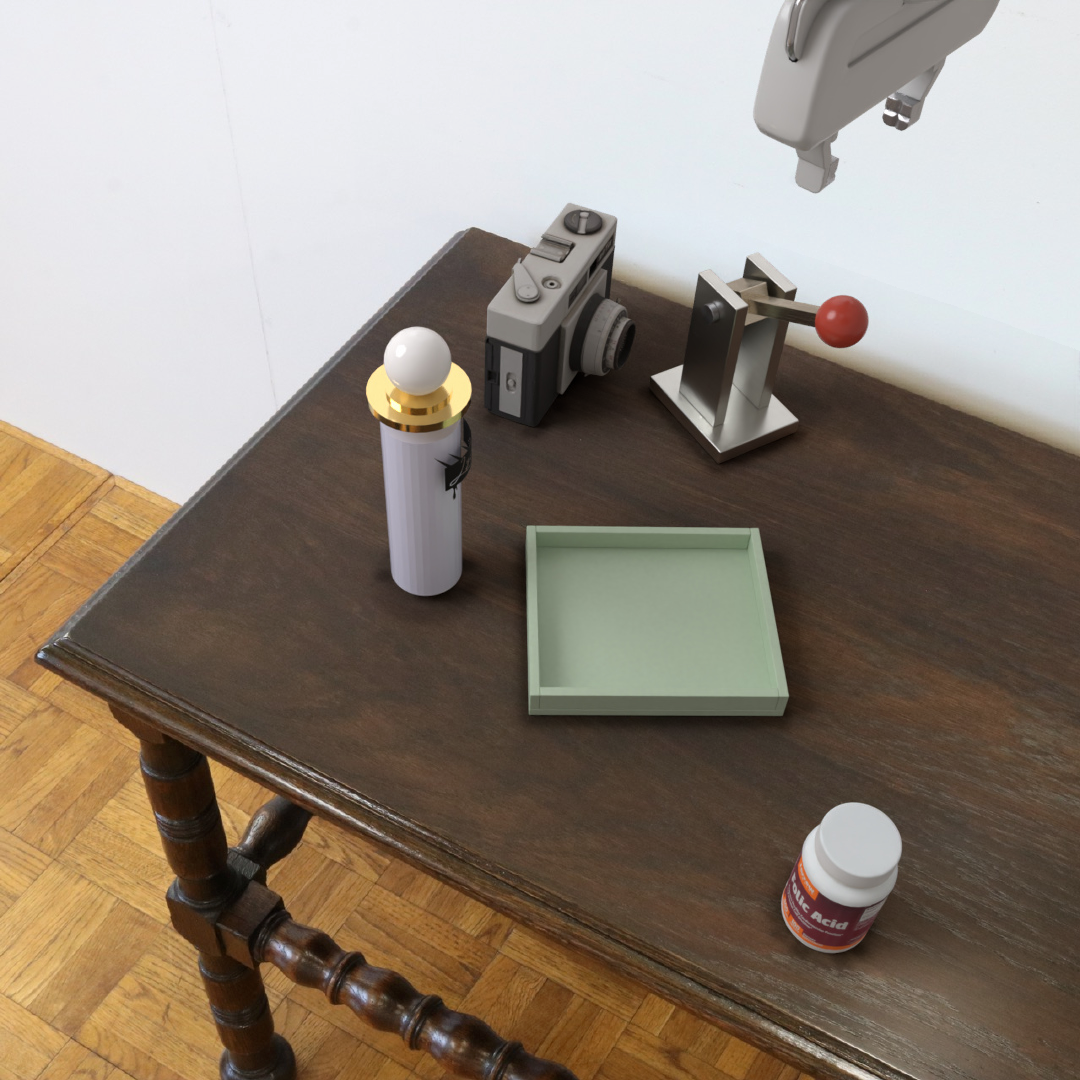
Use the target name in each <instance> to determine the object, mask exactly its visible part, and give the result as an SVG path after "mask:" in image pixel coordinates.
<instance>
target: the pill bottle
mask: <svg viewBox="0 0 1080 1080" xmlns="http://www.w3.org/2000/svg"><path fill="white" fill-rule="evenodd" d="M902 852H903V843H902V837H901V834H900V831H899V830H898V827H897V826H896V825H895V823H894V821H893V820H892V819H891V818H890V817H889V816H888V815H887V814H886V813H884V812H883V811H882V810H880V809H878V808H876V807H874V806H872V805H870V804H867V803H862V802H854V801H853V802H852V801H851V802H845V803H841V804H839V805H836V806H834V807H832V808H831V809H830V810H829V811H828V812H827V813H826V814H825V815H824V817H823V818H822V820H821V822H820V823H819V824H818V825H817V826H816V827H814V828H813V829H812V830H811V831H810V832H809V834H808V835H807V836H806V838H805V840H804V842H803V844H802V847H801V850H800V852H799V854H798V856H797V859H796V861H795V864H794V865H793V869H792V870H791V872H790V876H789V878H788V879H787V882H786V884H785V886H784V889H783V891H782V895H781V903H780V906H781V915H782V917H783V920H784V922H785V925H786V927H787V928H788V930H789V931H790V933H791V934H792V935H793V936H794V937H795V938H796V940H798V941H799V942H800V943H802V944H803V945H804V946H806V947H807V948H810V949H811V950H814V951H817V952H821V953H826V954H836V953H838V954H839V953H843V952H847V951H848V950H851V949H853V948H855V947H857V946H858V944H860V943H861V942H862V941H863V939H864V938H865V937H866V935H867V933H868V931H869V930H870V928H871V927H872V926H873V923H874V921H875V920H876V918H877V916H878V915H879V912H880V910H881V909H882V907H883V906H884V904H885V903H886V901H887V899H888V897H889V895H890V893H891V892H892V891H893V890H894V888H895V885H896V883H897V879H898V873H899V868H898V867H899V865H898V864H899V863H900V860H901V857H902Z"/></svg>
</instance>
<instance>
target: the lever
mask: <svg viewBox="0 0 1080 1080" xmlns="http://www.w3.org/2000/svg"><path fill="white" fill-rule="evenodd" d="M725 283H726V284H727V285H728V286H729V287H730V288H731V289H732V290H733V291H734V292H735V293H736V294H737V295H738V296H739V297H740V298H741V299H742V300H743V301H745V302H746V303H747V304H748V306H749V307H748V311H747V316H746V321H745V326H746V325H749V324H752V323H755V322H757V321H760V320H763V319H766V318H768V317H769V318H773V319H778V320H782V321H787V322H789V323H793V324H797V325H802V326H806V327H811V328H815V332H816V334H817V337H819V339H820V340H821V341H822V342H823V344H825V345H827V346H829V347H831V348H835V349H847V348H850V347H853V346H855V345H856V344H858V343H859V342H860V341H861V340H862V339H863V338H864V337H865V335H866V333H867V331H868V328H869V323H870V322H869V321H870V320H869V313H868V310H867V308H866V306H865V305H864V304H863V303H862V302H861V301H860V300H859V299H858V298H856V297H854V296H852V295H846V294H839V295H835V296H831V297H830V298H828V299H826V300H825V301H823V302H822V304H821V305H816V304H812V303H811V304H810V303H806V302H800V301H797V300H796V301H795V300H794V301H790V300H785V299H780V298H775V297H770V296H768V290H767V283H766V282H762V281H756V280H750V279H745V278H742V277H740V278H737V279H734V280H731V281H729V282H725Z"/></svg>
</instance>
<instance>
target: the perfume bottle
mask: <svg viewBox="0 0 1080 1080" xmlns="http://www.w3.org/2000/svg"><path fill="white" fill-rule="evenodd" d="M365 388H366V389H365V393H366V403H367V406H368V410H369V411H370V412H371V414H372V416H374V418H375V419H376V420H377V421H378V422H379V429H380V430H379V431H380V444H381V445H380V446H381V454H382V455H381V458H382V469H383V470H382V471H383V481H384V482H383V485H384V496H385V497H384V498H385V508H386V509H385V511H386V522H387V534H388V549H389V562H390V571H391V572H390V574H391V576H392V579H393V580H394V583H395V584H396V585H397V586H398V587H399V588H400V589H402V590H403V591H405V592H407V593H409V594H411V595H415V596H421V597H429V596H430V597H431V596H437V595H440V594H442V593H445V592H447V591H449V590H451V589H452V588H453V587H454V586H455V585H456V584H457V583H458V582H459V580H460V578H461V576H462V573H463V514H462V513H463V508H462V507H463V506H462V505H463V504H462V503H463V502H462V482H463V481H464V480H465V479H466V477H467V476H468V474H469V472H470V471H471V468H472V462H473V461H472V460H473V459H472V457H473V455H472V453H473V451H472V448H473V445H472V444H473V440H472V439H473V437H472V430H471V427H470V425H469V422H468V421H467V420H466V419H465V417H464V416H465V415H466V413H467V412H468V410H469V408H470V406H471V403H472V397H473V396H472V391H473V389H472V383H471V380H470V378H469V376H468V374H467V373H466V371H465V370H464V369H463V368H461V367H460V365H458V364H456V363H455V362H453V361H452V352H451V350H450V348H449V345H448V343H447V342H446V340H445V339H444V338H443V336H441V335H440V333H438V332H436V331H435V330H433V329H431V328H428V327H425V326H411V327H405V328H404V329H401V330H399V331H398V332H396V334H395V335H393V336H392V337H391V339H390V340H389V342H388V344H386V347H385V350H384V354H383V364H382V365H380V366H379V367H377V369H375V370H374V371H373V372H372V373H371V375H370V377H369V379H368V381H367V384H366V387H365ZM462 421H463V422H462ZM462 425H463V426H462ZM462 427H463V428H462ZM462 431H463V433H462ZM462 434H463V437H462ZM462 438H463V439H462ZM462 441H463V442H464V443H465V445H466V446H465V445H462ZM462 449H464V450H466V452H465V453H464V454H463V456H462Z"/></svg>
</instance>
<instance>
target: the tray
mask: <svg viewBox="0 0 1080 1080" xmlns="http://www.w3.org/2000/svg"><path fill="white" fill-rule="evenodd" d="M760 533H761V532H760V528H759V527H750V528H749V527H699V526H698V527H697V526H696V527H695V526H694V527H691V526H689V527H685V526H679V527H677V526H612V525H611V526H601V525H600V526H599V525H597V526H596V525H595V526H594V525H587V526H586V525H526V531H525V577H526V578H525V584H526V585H525V587H526V588H525V589H526V635H527V637H526V639H527V642H526V643H527V644H526V645H527V691H528V694H527V695H528V715H529V716H677V717H678V716H680V717H682V716H686V717H688V716H692V717H694V716H696V717H697V716H701V717H702V716H703V717H704V716H705V717H709V716H711V717H712V716H713V717H783V716H784V713H785V710H786V707H787V705H788V701H789V698H790V693H789V688H788V683H787V678H786V672H785V667H784V666H785V665H784V661H783V655H782V648H781V643H780V639H779V633H778V627H777V622H776V615H775V611H774V605H773V600H772V594H771V590H770V589H771V587H770V582H769V578H768V572H767V567H766V561H765V555H764V550H763V544H762V538H761V534H760Z"/></svg>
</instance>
